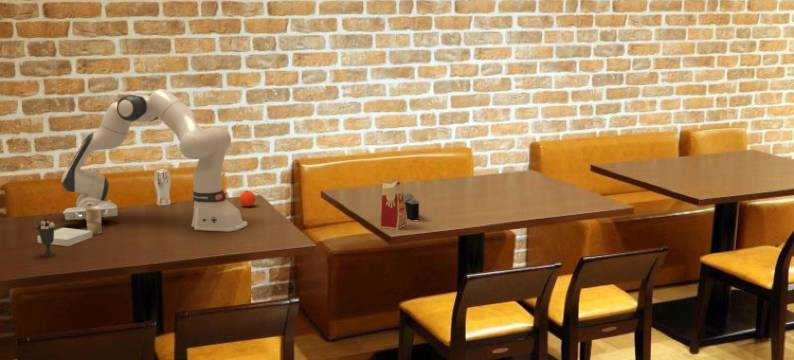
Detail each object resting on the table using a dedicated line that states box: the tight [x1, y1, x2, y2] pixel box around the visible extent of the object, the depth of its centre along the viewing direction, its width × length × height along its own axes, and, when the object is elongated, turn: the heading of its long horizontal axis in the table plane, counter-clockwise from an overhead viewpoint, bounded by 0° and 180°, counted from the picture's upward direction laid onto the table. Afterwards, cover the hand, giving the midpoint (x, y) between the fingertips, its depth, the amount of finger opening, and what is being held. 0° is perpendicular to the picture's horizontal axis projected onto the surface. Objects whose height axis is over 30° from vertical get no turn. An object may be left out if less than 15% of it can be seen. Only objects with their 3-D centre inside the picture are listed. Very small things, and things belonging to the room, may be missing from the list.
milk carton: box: [379, 177, 408, 231], centre depth 378 cm, size 9×9×20 cm
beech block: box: [86, 206, 103, 235], centre depth 370 cm, size 5×5×10 cm
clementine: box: [239, 190, 257, 208], centre depth 415 cm, size 8×7×7 cm
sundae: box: [35, 212, 57, 257], centre depth 340 cm, size 7×7×15 cm
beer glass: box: [153, 168, 172, 206], centre depth 419 cm, size 7×7×15 cm
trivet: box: [36, 227, 94, 247], centre depth 361 cm, size 14×14×2 cm
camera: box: [403, 192, 420, 221], centre depth 394 cm, size 15×7×10 cm, turn 35°
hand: (92, 216), depth 375 cm, fingers open, 8 cm apart
